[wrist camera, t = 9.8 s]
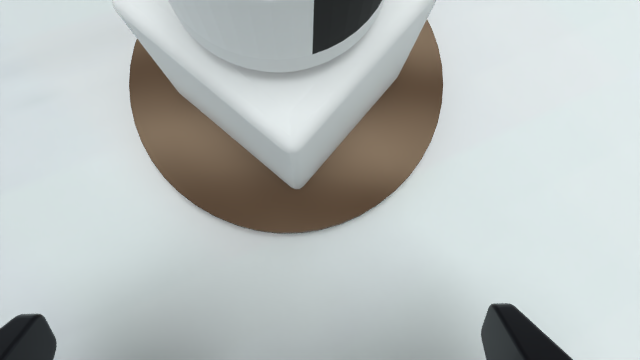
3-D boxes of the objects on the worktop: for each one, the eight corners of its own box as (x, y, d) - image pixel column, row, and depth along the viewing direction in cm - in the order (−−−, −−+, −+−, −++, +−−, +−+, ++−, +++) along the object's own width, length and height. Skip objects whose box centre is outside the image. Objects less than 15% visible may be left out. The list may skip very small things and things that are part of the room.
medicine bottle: (281, -20, 21) (248, -388, 9) (400, 74, 20) (535, -187, 8) (175, 90, 20) (-23, -163, 8) (297, 194, 19) (284, 88, 7)
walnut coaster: (454, 221, 20) (462, 219, 19) (138, 245, 19) (130, 244, 18) (418, -57, 22) (423, -71, 21) (136, -43, 22) (128, -57, 21)
